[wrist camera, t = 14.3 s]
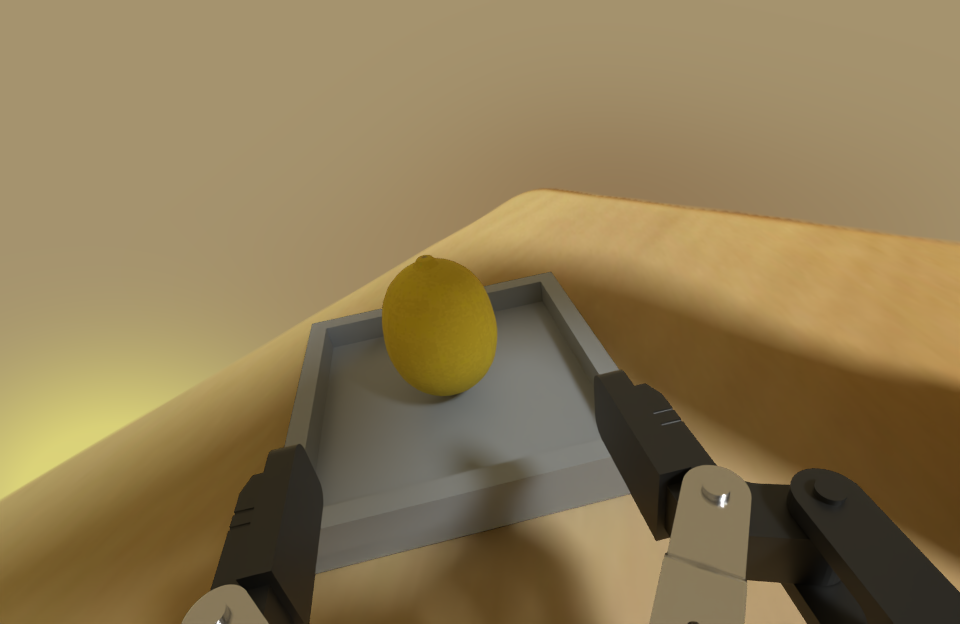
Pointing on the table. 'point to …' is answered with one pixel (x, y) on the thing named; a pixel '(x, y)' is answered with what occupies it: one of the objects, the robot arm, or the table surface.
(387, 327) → the lemon
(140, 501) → the table surface
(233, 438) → the table surface
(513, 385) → the tray
